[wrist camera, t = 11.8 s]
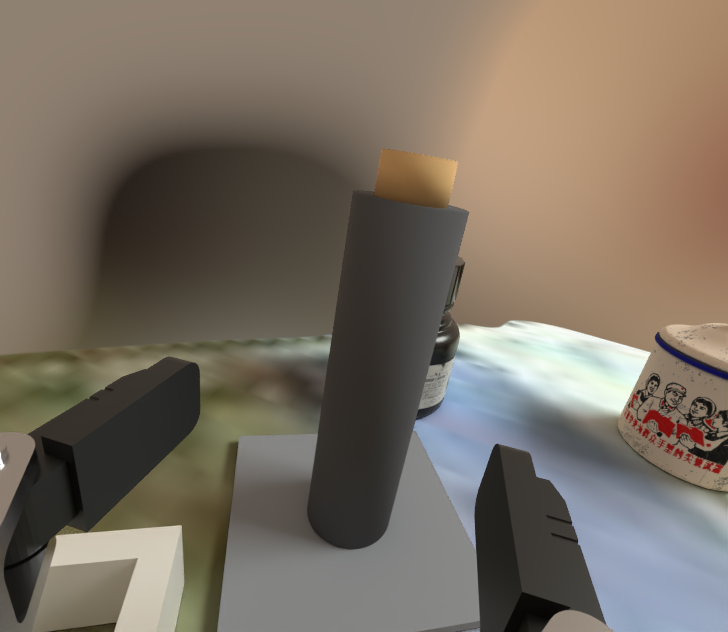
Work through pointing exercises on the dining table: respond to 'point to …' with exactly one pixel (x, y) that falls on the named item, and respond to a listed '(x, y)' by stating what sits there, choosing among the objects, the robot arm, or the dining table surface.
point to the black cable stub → (382, 342)
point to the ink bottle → (442, 352)
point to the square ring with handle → (114, 581)
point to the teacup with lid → (683, 405)
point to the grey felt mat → (341, 553)
